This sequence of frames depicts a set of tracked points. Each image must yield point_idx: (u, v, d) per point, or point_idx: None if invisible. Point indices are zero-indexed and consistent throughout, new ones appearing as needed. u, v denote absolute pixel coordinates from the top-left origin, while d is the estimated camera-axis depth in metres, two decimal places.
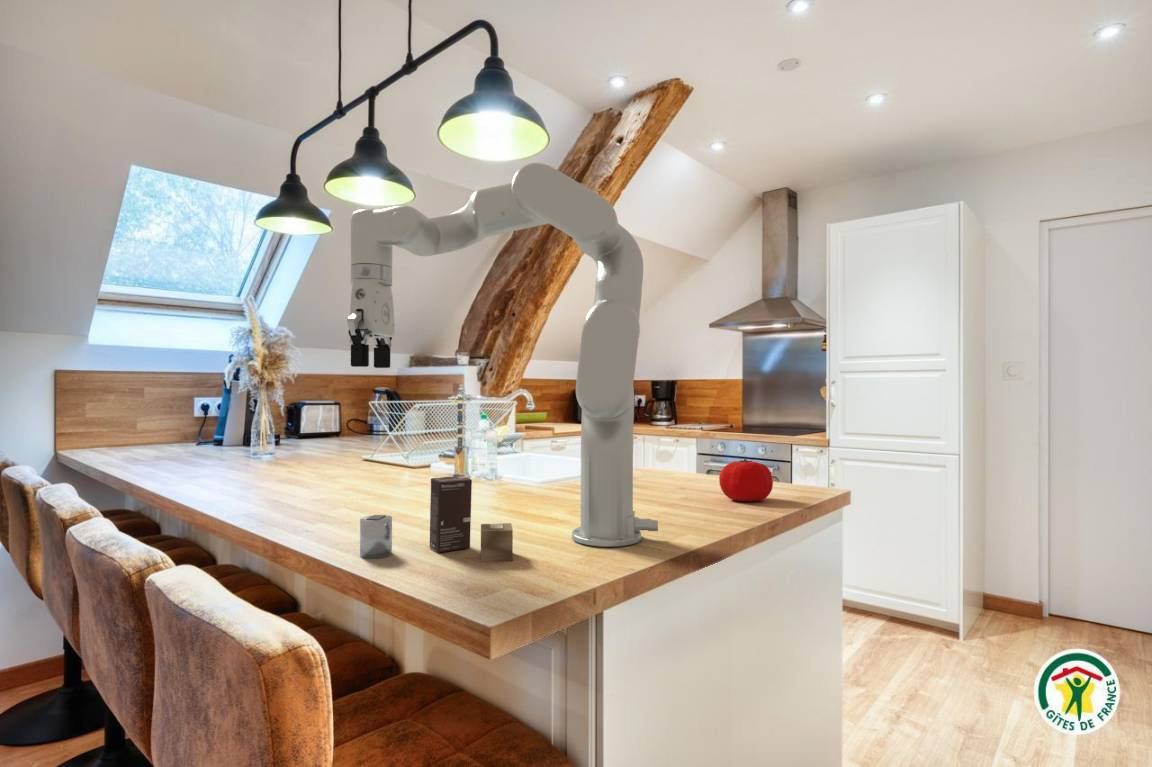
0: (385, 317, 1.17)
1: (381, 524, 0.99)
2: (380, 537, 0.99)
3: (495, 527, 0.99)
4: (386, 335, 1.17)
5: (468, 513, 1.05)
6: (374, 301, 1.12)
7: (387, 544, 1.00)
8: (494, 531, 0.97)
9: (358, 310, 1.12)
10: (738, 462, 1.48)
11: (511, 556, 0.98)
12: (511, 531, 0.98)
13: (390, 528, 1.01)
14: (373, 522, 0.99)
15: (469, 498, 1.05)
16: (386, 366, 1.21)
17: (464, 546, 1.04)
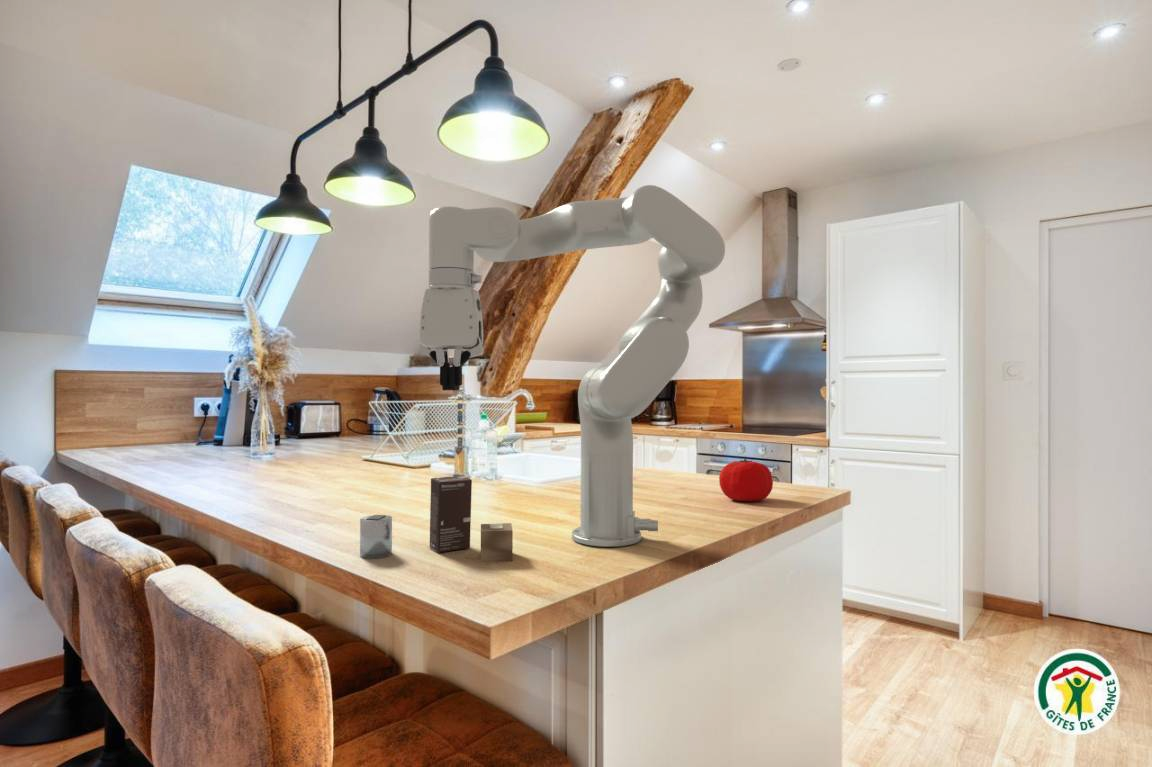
0: None
1: (381, 524, 0.99)
2: (380, 537, 0.99)
3: (495, 527, 0.99)
4: None
5: (468, 513, 1.05)
6: None
7: (387, 544, 1.00)
8: (494, 531, 0.97)
9: None
10: (738, 462, 1.48)
11: (511, 556, 0.98)
12: (511, 531, 0.98)
13: (390, 528, 1.01)
14: (373, 522, 0.99)
15: (469, 498, 1.05)
16: None
17: (464, 546, 1.04)
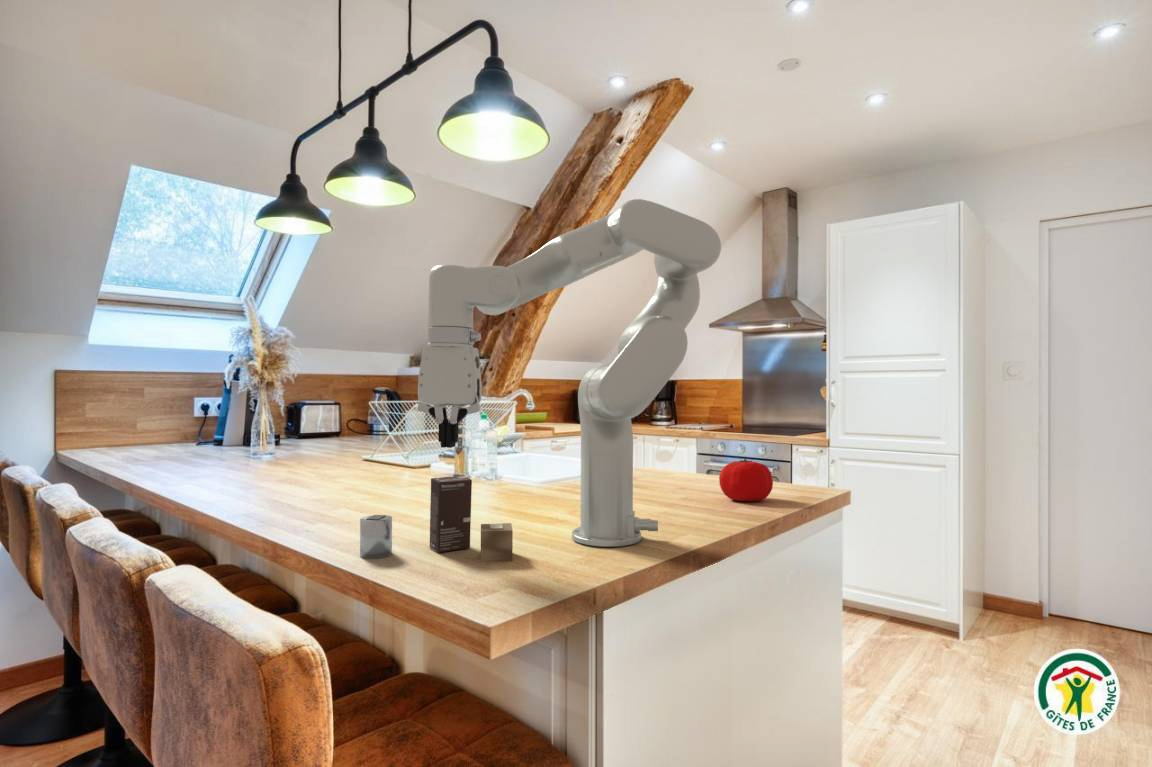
0: None
1: (381, 524, 0.99)
2: (380, 537, 0.99)
3: (495, 527, 0.99)
4: None
5: (468, 513, 1.05)
6: None
7: (387, 544, 1.00)
8: (494, 531, 0.97)
9: None
10: (738, 462, 1.48)
11: (511, 556, 0.98)
12: (511, 531, 0.98)
13: (390, 528, 1.01)
14: (373, 522, 0.99)
15: (469, 498, 1.05)
16: None
17: (464, 546, 1.04)
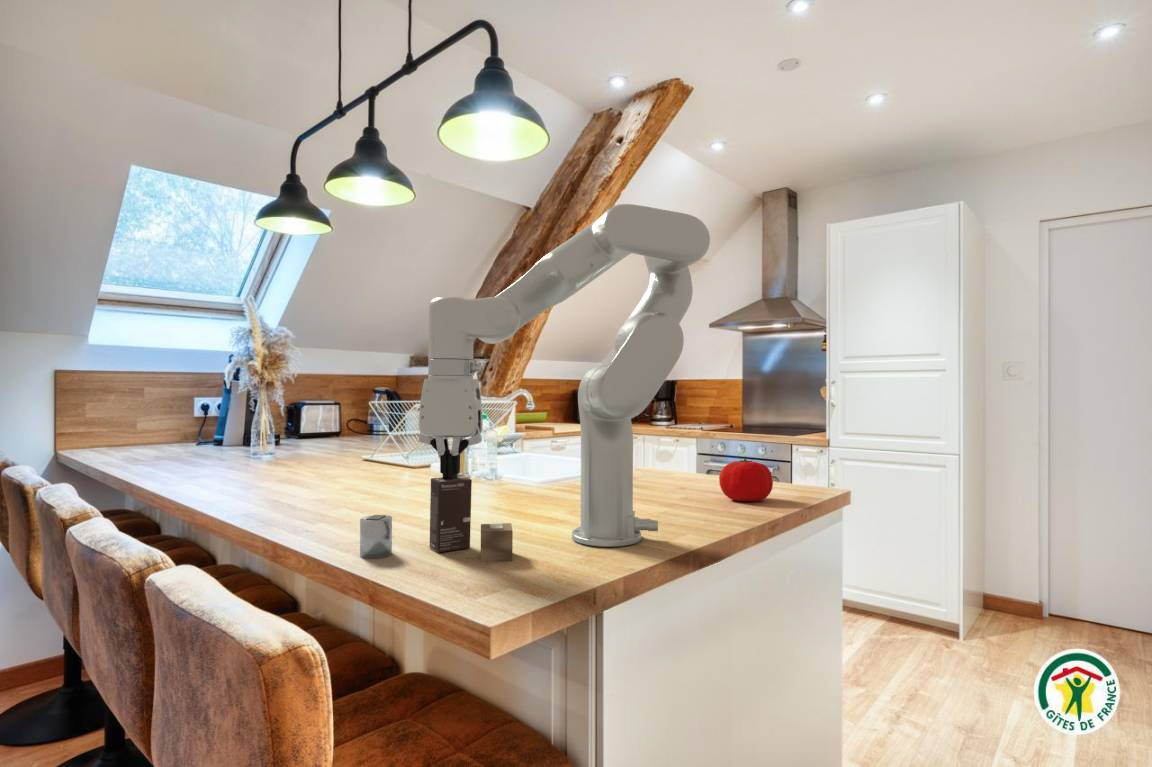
0: None
1: (381, 524, 0.99)
2: (380, 537, 0.99)
3: (495, 527, 0.99)
4: None
5: (468, 513, 1.05)
6: None
7: (387, 544, 1.00)
8: (494, 531, 0.97)
9: None
10: (738, 462, 1.48)
11: (511, 556, 0.98)
12: (511, 531, 0.98)
13: (390, 528, 1.01)
14: (373, 522, 0.99)
15: (469, 497, 1.05)
16: None
17: (464, 546, 1.04)
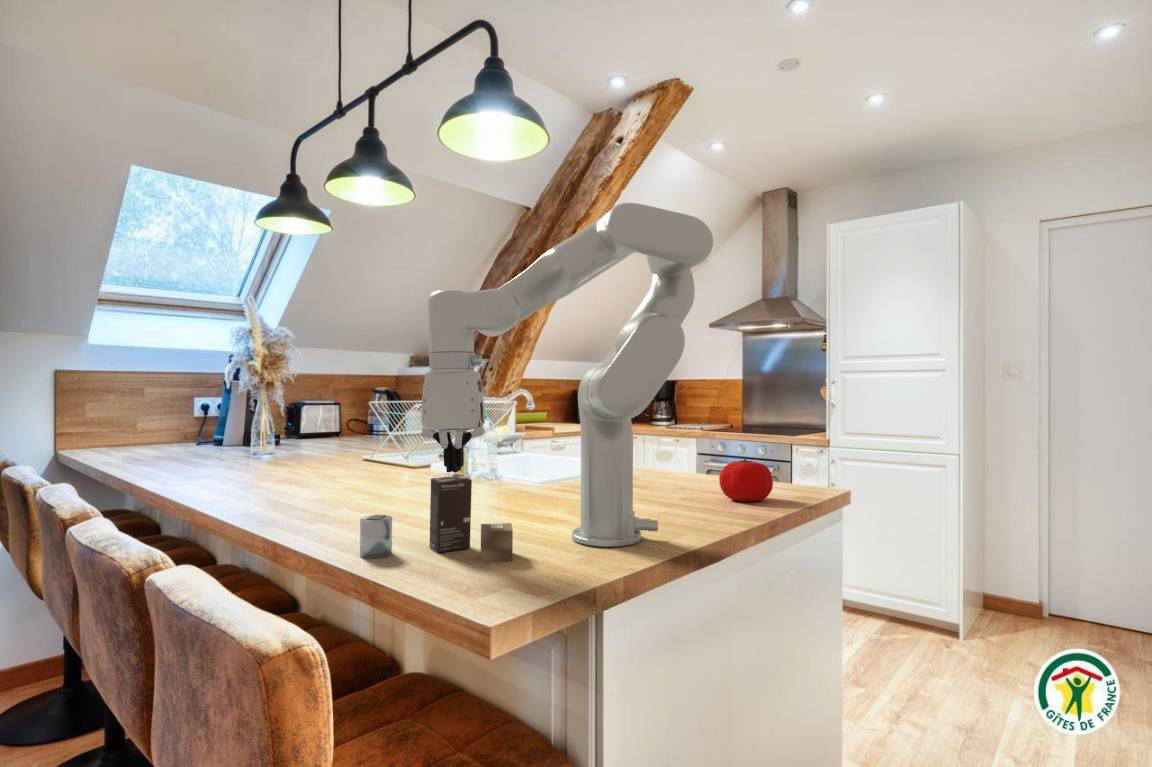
0: None
1: (381, 524, 0.99)
2: (380, 537, 0.99)
3: (495, 527, 0.99)
4: None
5: (468, 513, 1.05)
6: None
7: (387, 544, 1.00)
8: (494, 531, 0.97)
9: None
10: (738, 462, 1.48)
11: (511, 556, 0.98)
12: (511, 531, 0.98)
13: (390, 528, 1.01)
14: (373, 522, 0.99)
15: (469, 498, 1.05)
16: None
17: (464, 546, 1.04)
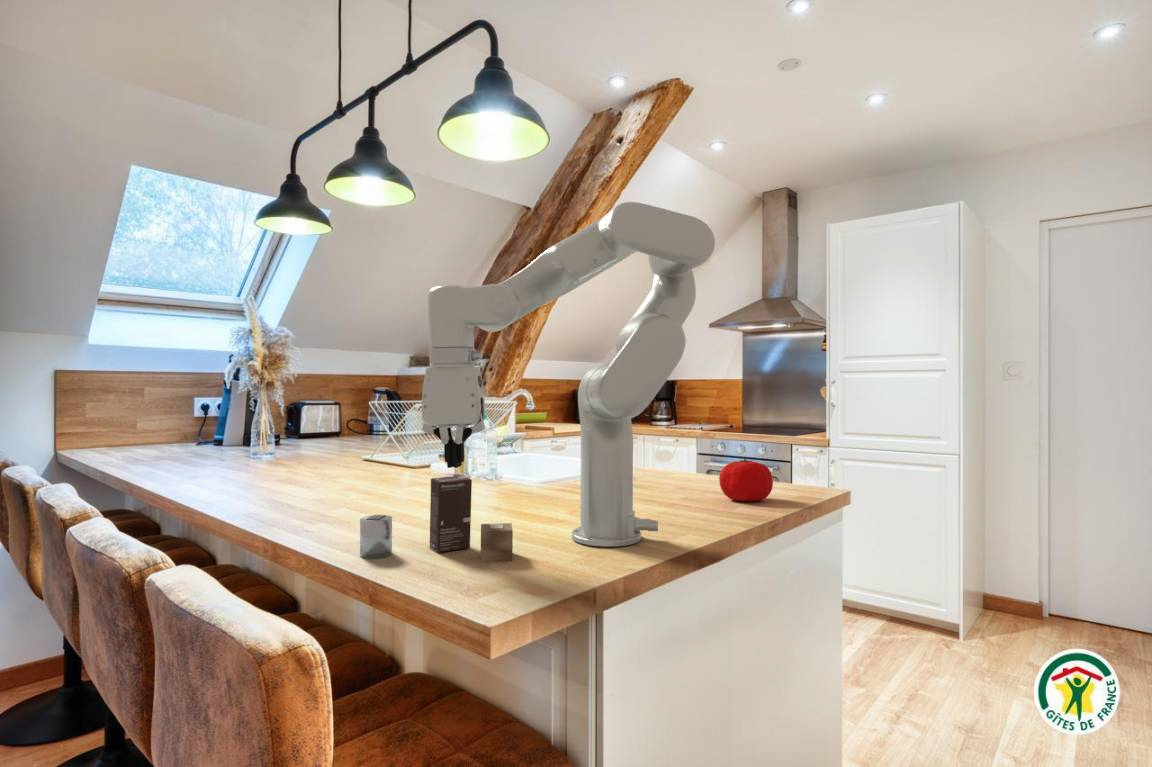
0: None
1: (381, 524, 0.99)
2: (380, 537, 0.99)
3: (495, 527, 0.99)
4: None
5: (468, 513, 1.05)
6: None
7: (387, 544, 1.00)
8: (494, 531, 0.97)
9: None
10: (738, 462, 1.48)
11: (511, 556, 0.98)
12: (511, 531, 0.98)
13: (390, 528, 1.01)
14: (373, 522, 0.99)
15: (469, 498, 1.05)
16: None
17: (464, 546, 1.04)
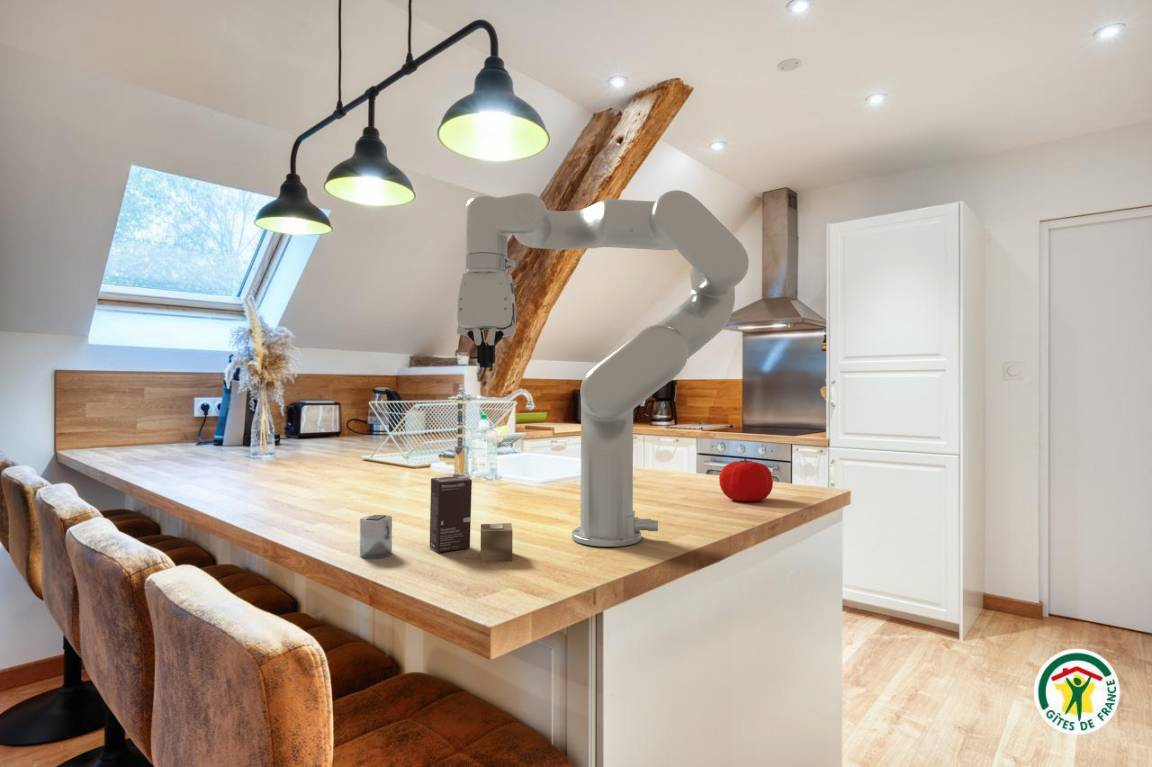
0: None
1: (381, 524, 0.99)
2: (380, 537, 0.99)
3: (495, 527, 0.99)
4: None
5: (468, 513, 1.05)
6: None
7: (387, 544, 1.00)
8: (494, 531, 0.97)
9: None
10: (738, 462, 1.48)
11: (511, 556, 0.98)
12: (511, 531, 0.98)
13: (390, 528, 1.01)
14: (373, 522, 0.99)
15: (469, 498, 1.05)
16: None
17: (464, 546, 1.04)
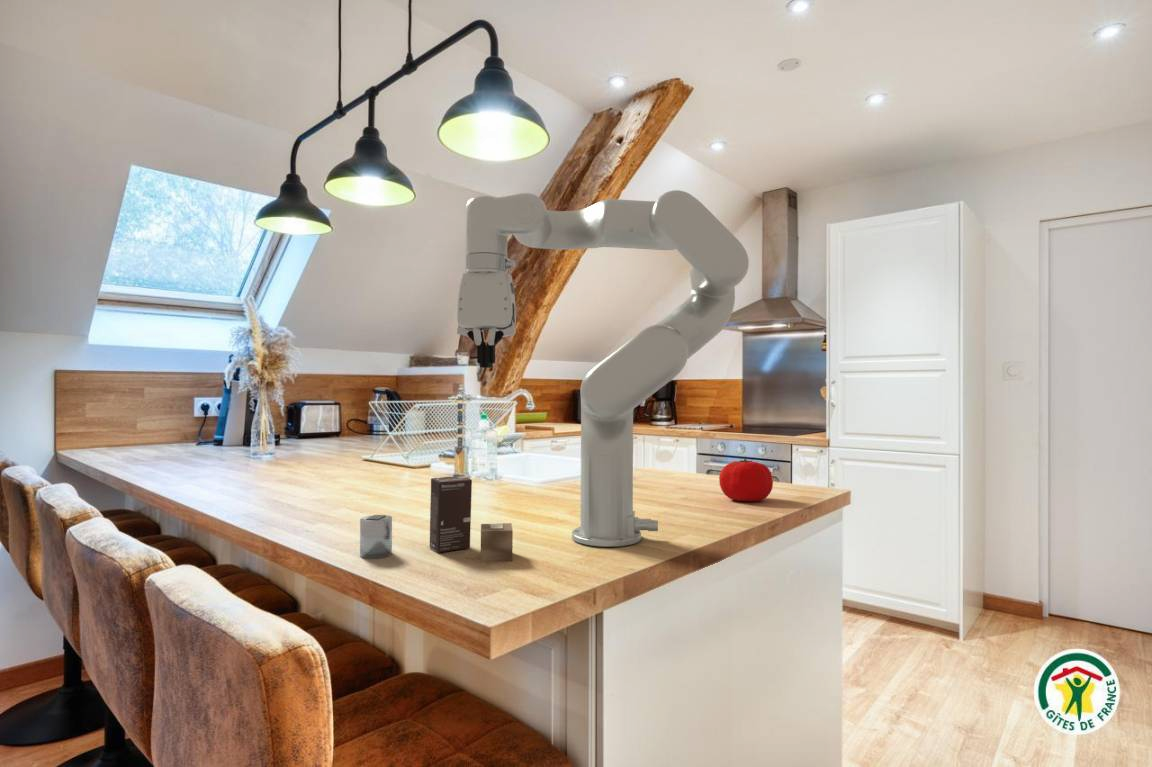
0: None
1: (381, 524, 0.99)
2: (380, 537, 0.99)
3: (495, 527, 0.99)
4: None
5: (468, 513, 1.05)
6: None
7: (387, 544, 1.00)
8: (494, 531, 0.97)
9: None
10: (738, 462, 1.48)
11: (511, 556, 0.98)
12: (511, 531, 0.98)
13: (390, 528, 1.01)
14: (373, 522, 0.99)
15: (469, 498, 1.05)
16: None
17: (464, 546, 1.04)
